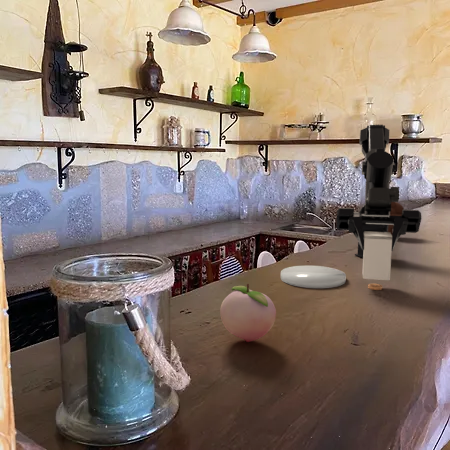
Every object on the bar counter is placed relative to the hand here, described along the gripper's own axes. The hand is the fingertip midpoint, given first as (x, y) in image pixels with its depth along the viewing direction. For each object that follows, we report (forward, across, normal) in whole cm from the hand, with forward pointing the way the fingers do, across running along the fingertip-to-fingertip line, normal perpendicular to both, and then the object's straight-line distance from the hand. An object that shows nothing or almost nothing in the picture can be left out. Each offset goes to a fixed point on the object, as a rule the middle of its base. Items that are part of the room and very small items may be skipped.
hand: (377, 249), depth 102 cm
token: (+6, 0, +8) cm, 10 cm away
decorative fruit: (+33, -22, -19) cm, 44 cm away
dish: (+3, -15, +10) cm, 18 cm away
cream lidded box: (+4, 0, +6) cm, 7 cm away
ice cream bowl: (-43, +8, +57) cm, 72 cm away
